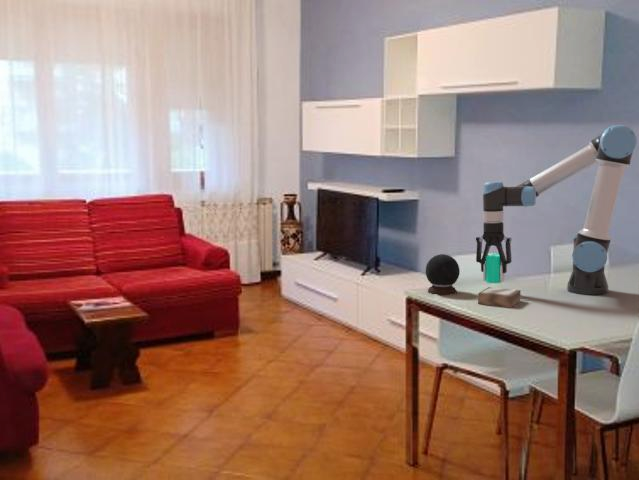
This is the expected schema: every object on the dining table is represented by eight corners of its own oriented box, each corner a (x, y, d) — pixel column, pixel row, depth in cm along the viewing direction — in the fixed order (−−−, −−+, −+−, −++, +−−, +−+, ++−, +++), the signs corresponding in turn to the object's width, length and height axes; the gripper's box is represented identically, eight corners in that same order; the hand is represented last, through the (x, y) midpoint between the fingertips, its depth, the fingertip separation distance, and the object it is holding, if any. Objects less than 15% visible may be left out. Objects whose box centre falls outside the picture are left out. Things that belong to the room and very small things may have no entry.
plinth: (520, 300, 266) (520, 289, 265) (510, 307, 256) (511, 295, 255) (488, 297, 272) (488, 286, 271) (478, 303, 262) (478, 292, 261)
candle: (500, 280, 283) (500, 250, 282) (502, 283, 277) (502, 252, 276) (485, 280, 284) (484, 250, 282) (487, 283, 278) (486, 252, 276)
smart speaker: (436, 296, 274) (436, 258, 272) (419, 290, 286) (419, 253, 284) (465, 293, 279) (466, 255, 277) (447, 287, 291) (448, 251, 289)
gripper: (520, 221, 276) (520, 280, 279) (473, 220, 286) (473, 277, 289) (515, 223, 269) (515, 284, 272) (466, 222, 279) (467, 280, 282)
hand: (493, 280), depth 280 cm, fingers closed on candle, 6 cm apart
